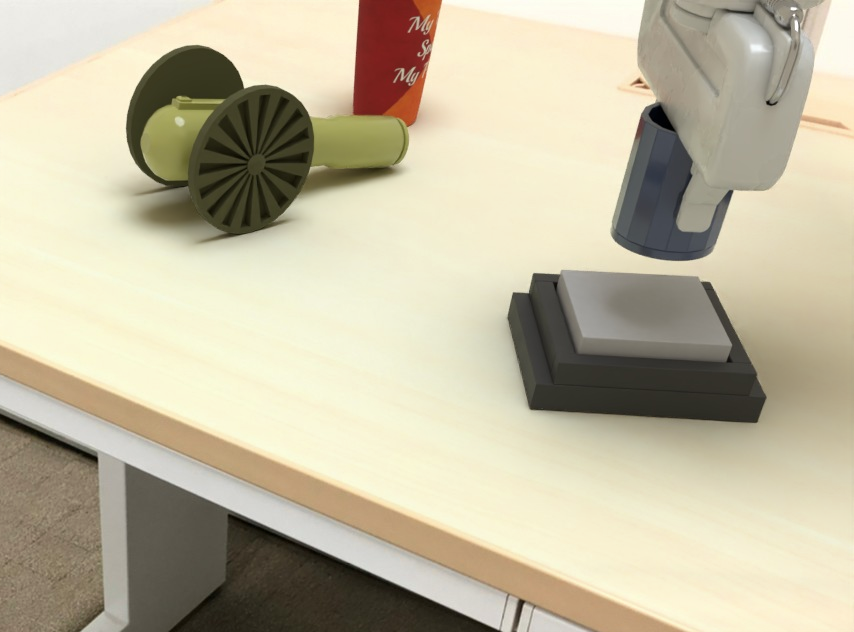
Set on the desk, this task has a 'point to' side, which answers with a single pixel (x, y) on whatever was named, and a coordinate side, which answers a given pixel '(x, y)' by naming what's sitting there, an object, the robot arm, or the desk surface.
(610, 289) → the pan
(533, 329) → the scale
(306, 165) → the cannon
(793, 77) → the robot arm
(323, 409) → the desk surface
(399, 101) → the coffee cup
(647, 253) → the small cup
